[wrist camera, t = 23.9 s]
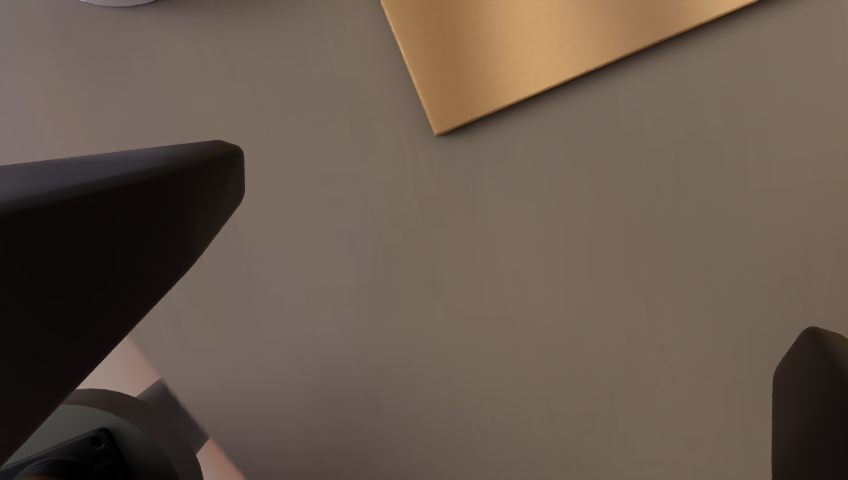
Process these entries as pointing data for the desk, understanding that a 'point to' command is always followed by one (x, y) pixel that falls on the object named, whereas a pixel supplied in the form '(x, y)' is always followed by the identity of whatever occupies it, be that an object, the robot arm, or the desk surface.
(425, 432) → the desk surface
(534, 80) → the cork mat
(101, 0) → the wedge on round base
